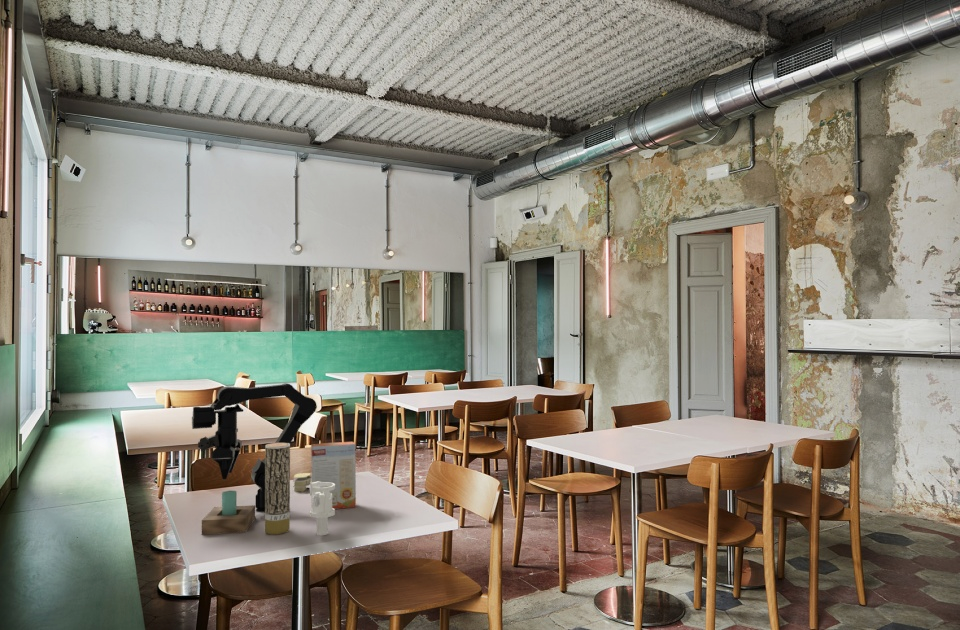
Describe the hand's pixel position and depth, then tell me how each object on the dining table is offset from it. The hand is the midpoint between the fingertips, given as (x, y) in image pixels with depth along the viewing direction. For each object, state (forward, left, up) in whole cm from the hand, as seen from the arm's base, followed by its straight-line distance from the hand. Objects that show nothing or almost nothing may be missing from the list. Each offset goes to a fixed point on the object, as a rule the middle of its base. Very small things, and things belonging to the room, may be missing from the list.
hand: (227, 475), depth 205 cm
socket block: (-4, +14, -12) cm, 19 cm away
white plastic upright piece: (-32, +26, -12) cm, 43 cm away
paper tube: (-19, +22, -12) cm, 31 cm away
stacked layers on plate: (-20, -29, -13) cm, 37 cm away
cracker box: (-33, -2, -12) cm, 35 cm away
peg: (-4, +14, -12) cm, 19 cm away
